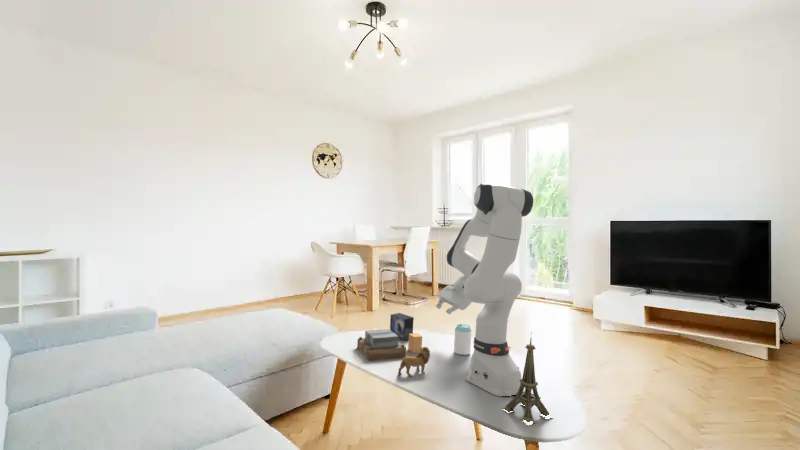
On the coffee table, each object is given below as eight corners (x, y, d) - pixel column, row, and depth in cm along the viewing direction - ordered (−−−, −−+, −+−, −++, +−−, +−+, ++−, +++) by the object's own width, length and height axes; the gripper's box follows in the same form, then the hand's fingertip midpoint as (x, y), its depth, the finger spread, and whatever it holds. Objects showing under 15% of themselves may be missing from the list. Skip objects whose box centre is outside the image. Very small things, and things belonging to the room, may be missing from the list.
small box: (388, 335, 188) (389, 314, 188) (398, 333, 192) (399, 312, 192) (403, 341, 180) (404, 318, 180) (413, 338, 185) (414, 317, 185)
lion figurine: (422, 367, 149) (424, 344, 149) (432, 371, 145) (433, 348, 145) (393, 375, 139) (394, 350, 139) (402, 380, 135) (404, 355, 135)
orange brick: (421, 352, 166) (422, 336, 166) (412, 353, 164) (413, 337, 164) (416, 348, 170) (417, 333, 170) (408, 349, 169) (408, 333, 169)
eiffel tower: (553, 418, 114) (557, 334, 113) (528, 426, 108) (533, 338, 108) (525, 403, 123) (529, 325, 123) (501, 409, 117) (505, 328, 117)
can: (453, 355, 164) (455, 327, 164) (453, 349, 171) (455, 323, 171) (470, 356, 163) (472, 328, 163) (469, 351, 170) (471, 324, 170)
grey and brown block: (405, 357, 159) (406, 337, 159) (368, 360, 153) (369, 340, 153) (391, 344, 174) (392, 327, 174) (357, 347, 167) (358, 329, 167)
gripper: (447, 279, 185) (427, 300, 181) (471, 288, 166) (449, 311, 162) (454, 288, 187) (435, 309, 183) (478, 298, 168) (458, 321, 164)
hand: (442, 310), depth 173 cm, fingers open, 8 cm apart
